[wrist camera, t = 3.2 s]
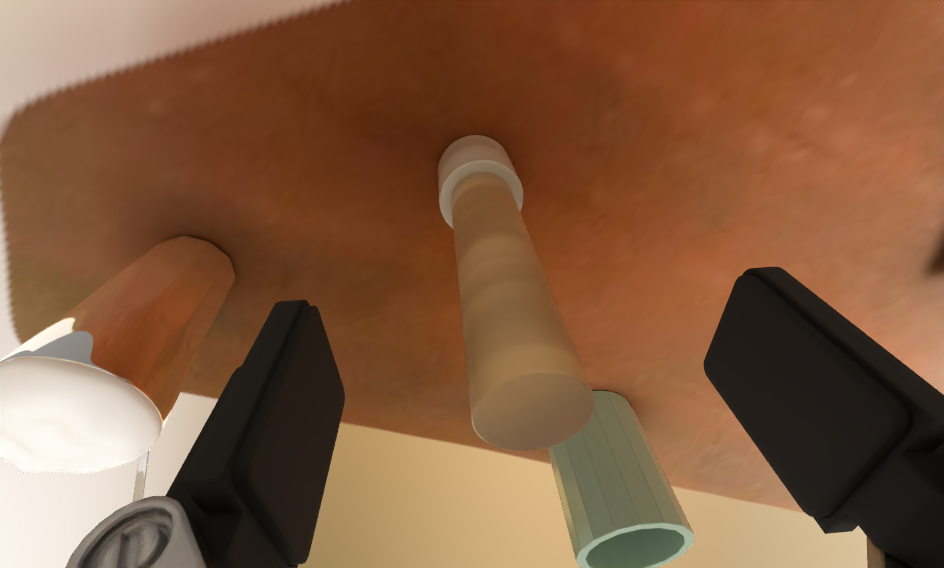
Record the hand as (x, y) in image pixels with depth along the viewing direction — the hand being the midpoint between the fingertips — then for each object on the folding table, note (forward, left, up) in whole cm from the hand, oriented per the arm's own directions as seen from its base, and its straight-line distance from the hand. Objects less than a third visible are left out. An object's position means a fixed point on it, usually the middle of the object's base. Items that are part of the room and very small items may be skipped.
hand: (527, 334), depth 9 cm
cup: (+17, -6, -10) cm, 21 cm away
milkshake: (-6, -12, -10) cm, 16 cm away
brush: (-1, 0, -10) cm, 10 cm away
